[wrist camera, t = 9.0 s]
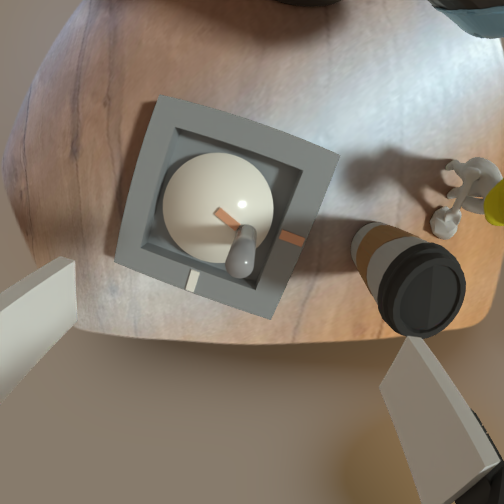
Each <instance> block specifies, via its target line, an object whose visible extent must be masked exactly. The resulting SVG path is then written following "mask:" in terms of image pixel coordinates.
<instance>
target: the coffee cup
mask: <svg viewBox="0 0 504 504" xmlns="http://www.w3.org/2000/svg"><path fill="white" fill-rule="evenodd" d="M351 256H352V259H353V261H354V263H355V265H356V267H357V269H358V271H359V273H360V275H361V277H362V279H363V280H364V282H365V284H366V286H367V288H368V290H369V291H370V293H371V294H372V296H373V297H374V299H375V301H376V302H377V304H378V309H379V312H380V314H381V316H382V319H383V320H384V321H385V322H386V323H387V324H388V325H389V326H390V327H391V328H392V329H393V330H394V331H395V332H397V333H399V334H401V335H403V336H406V337H407V336H412V337H420V338H422V339H424V338H429V337H431V336H433V335H436V334H437V333H439V332H440V331H442V330H443V329H445V328H446V327H447V326H448V325H449V324H450V323H451V322H452V321H453V319H454V318H455V316H456V315H457V314H458V312H459V310H460V308H461V306H462V303H463V300H464V296H465V292H466V281H465V277H464V273H463V271H462V269H461V267H460V264H459V263H458V261H457V259H456V258H455V257H454V256H453V255H452V254H451V253H450V252H449V251H448V250H446V249H445V248H444V247H443V246H441V245H438V244H435V243H429V242H427V241H424V240H422V239H421V238H419V237H418V236H415V235H413V234H411V233H408V232H406V231H403V230H401V229H399V228H396V227H393V226H390V225H387V224H384V223H381V222H373V223H370V224H367V225H365V226H363V227H362V228H361V229H360V230H359V231H358V232H357V233H356V235H355V236H354V238H353V241H352V244H351Z"/></svg>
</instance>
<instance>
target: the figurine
mask: <svg viewBox="0 0 504 504" xmlns="http://www.w3.org/2000/svg"><path fill="white" fill-rule="evenodd" d="M445 168H446V170H448V171H450V170H454V171H455V172H456V174H457V175H458V176H460V178H461V179H462V181H463V185H462V186H460V187H456V188H453V189H452V190H451V191H450V192H449V193H448V194H447V198H448V199H452V198H456V201H455V203H454V205H453V207H452V208H451V209H449V208H448V207H442V208H440V209H438V210H437V211H435V212H434V214H433V216H432V218H431V220H430V224H431V228H432V232H433V234H434V235H436V236H437V237H438V238H440V239H444V240H446V239H450V238H451V237H452V236H454V234H455V233H456V231H457V225H458V224H459V222H460V219H461V212H460V211H459V210H460V208H461V206H462V208H463V209H465V210H467V211H470V212H473V213H476V214H485V218H486V220H487V221H488V222H489V223H490V224H492V225H495V226H504V178H502V175H501V173H500V171H499V169H498V168H497V167H496V165H495V164H493V163H492V162H491V161H489V160H487V159H484V158H480V157H475V158H472V159H470V160H469V161H467V162H466V163H460V162H459V161H458V160H453V161H451V162H450V163H448V164H447V165H446V167H445ZM474 197H483V198H484V199H478V198H474Z"/></svg>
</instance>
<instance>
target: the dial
mask: <svg viewBox="0 0 504 504" xmlns="http://www.w3.org/2000/svg"><path fill="white" fill-rule="evenodd" d="M163 216H164V221H165V224H166V227H167V229H168V231H169V233H170V235H171V237H172V238H173V240H174V241H175V242H176V243H177V245H178V246H179V247H180V248H181V249H183V250H184V251H185V252H186V253H188V254H189V255H191V256H193V257H195V258H197V259H200V260H202V261H206V262H212V263H225V268H226V270H227V272H228V273H229V274H230V275H231V276H232V277H235V278H245V277H247V276H249V275H250V274H251V272H252V271H253V267H254V258H255V249H256V248H257V247H258V246H259V245H260V244H261V243H262V241H263V240H264V239H265V237H266V235H267V234H268V231H269V229H270V227H271V223H272V219H273V199H272V194H271V190H270V188H269V185H268V183H267V181H266V179H265V178H264V176H263V175H262V174H261V172H260V171H259V170H258V169H257V168H256V167H255V166H254V165H252V164H251V163H250V162H248V161H247V160H245V159H243V158H241V157H238V156H235V155H232V154H227V153H208V154H203V155H200V156H197V157H195V158H193V159H191V160H189V161H187V162H186V163H184V164H183V165H182V166H181V167H180V168H179V169H178V170H177V171H176V172H175V173H174V174H173V176H172V177H171V179H170V181H169V183H168V185H167V187H166V190H165V193H164V198H163Z"/></svg>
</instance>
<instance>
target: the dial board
mask: <svg viewBox="0 0 504 504" xmlns="http://www.w3.org/2000/svg"><path fill="white" fill-rule="evenodd" d="M208 153H227V154H232V155H235V156H238V157H241V158H243V159H245V160H247V161H248V162H250V163H251V164H252V165H254V166H255V167H256V168H257V169H258V170H259V171H260V172H261V174H262V175H263V176H264V178H265V179H266V181H267V183H268V185H269V188H270V190H271V194H272V199H273V219H272V223H271V227H270V229H269V231H268V234H267V235H266V237H265V239H264V240H263V241H262V243H261V244H260V245H259V246H258V247H257V248H256V249H255V258H254V267H253V271H252V272H251V274H250V275H249V276H247V277H245V278H235V277H232V276H231V275H230V274H229V273H228V272H227V270H226V268H225V263H212V262H206V261H202V260H200V259H197V258H195V257H193V256H191V255H189V254H188V253H186V252H185V251H184V250H183V249H181V248H180V247H179V246H178V245H177V243H176V242H175V241H174V240H173V238H172V237H171V235H170V233H169V231H168V229H167V227H166V224H165V221H164V216H163V198H164V193H165V190H166V187H167V185H168V183H169V181H170V179H171V177H172V176H173V174H174V173H175V172H176V171H177V170H178V169H179V168H180V167H181V166H182V165H183V164H184V163H186V162H187V161H189V160H191V159H193V158H195V157H197V156H200V155H203V154H208ZM339 158H340V155H339V154H336V153H334V152H332V151H330V150H327V149H325V148H323V147H320V146H318V145H315V144H313V143H311V142H308V141H306V140H303V139H301V138H298V137H296V136H293V135H291V134H288V133H285V132H283V131H280V130H277V129H274V128H272V127H269V126H266V125H263V124H260V123H258V122H255V121H252V120H249V119H246V118H243V117H240V116H236V115H233V114H230V113H227V112H224V111H220V110H217V109H214V108H210V107H207V106H203V105H199V104H196V103H192V102H188V101H184V100H180V99H176V98H172V97H168V96H164V95H159V97H158V100H157V103H156V105H155V108H154V111H153V114H152V117H151V120H150V122H149V125H148V128H147V131H146V134H145V137H144V141H143V144H142V147H141V150H140V154H139V157H138V160H137V164H136V167H135V171H134V174H133V178H132V182H131V186H130V189H129V193H128V197H127V201H126V206H125V210H124V214H123V219H122V223H121V228H120V233H119V238H118V243H117V248H116V253H115V259H114V262H115V263H118V264H120V265H123V266H125V267H127V268H130V269H132V270H135V271H137V272H140V273H142V274H145V275H147V276H150V277H152V278H155V279H157V280H160V281H163V282H165V283H168V284H170V285H173V286H176V287H178V288H181V289H184V290H186V291H189V292H192V293H194V294H197V295H200V296H203V297H205V298H208V299H211V300H214V301H217V302H219V303H222V304H225V305H228V306H231V307H234V308H237V309H240V310H242V311H245V312H248V313H251V314H254V315H257V316H260V317H263V318H266V319H270V320H271V318H272V316H273V314H274V312H275V310H276V307H277V305H278V303H279V301H280V299H281V296H282V294H283V292H284V290H285V288H286V285H287V283H288V281H289V279H290V276H291V274H292V272H293V270H294V267H295V265H296V263H297V260H298V258H299V256H300V253H301V251H302V249H303V246H304V244H305V242H306V239H307V237H308V235H309V232H310V230H311V228H312V225H313V223H314V220H315V218H316V215H317V213H318V211H319V208H320V206H321V203H322V201H323V198H324V196H325V193H326V191H327V188H328V186H329V183H330V181H331V178H332V176H333V173H334V171H335V168H336V166H337V163H338V160H339Z"/></svg>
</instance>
